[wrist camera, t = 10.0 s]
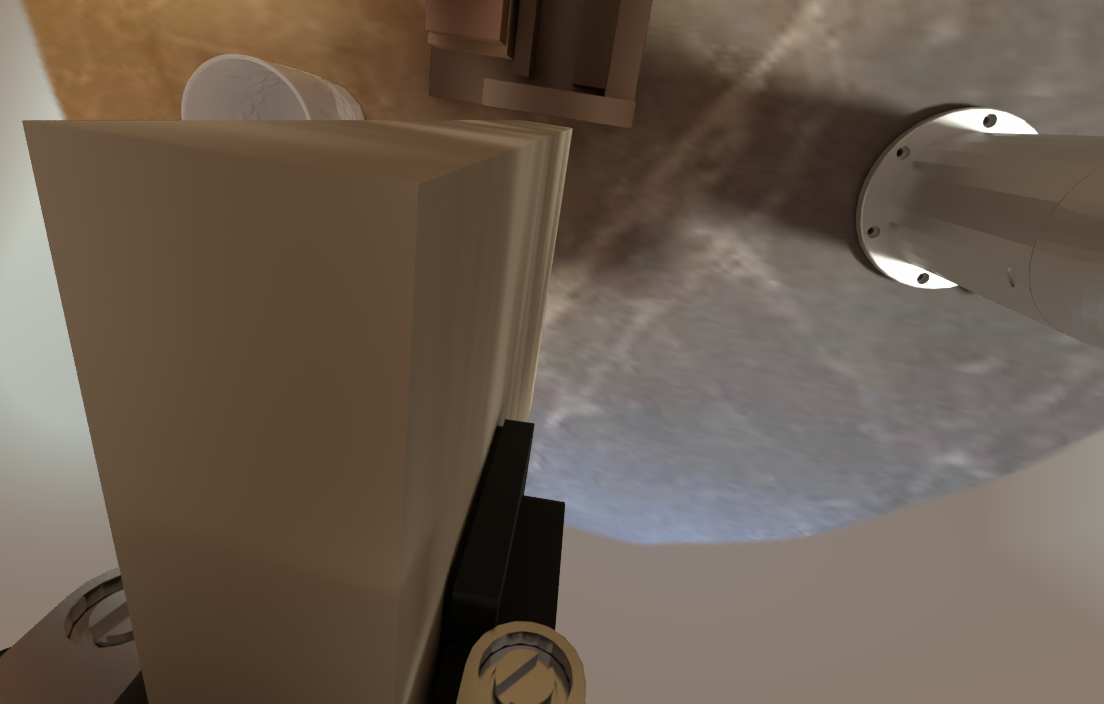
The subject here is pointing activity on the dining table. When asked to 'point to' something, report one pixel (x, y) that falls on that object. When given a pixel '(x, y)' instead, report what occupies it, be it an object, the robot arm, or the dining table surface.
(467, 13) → the offcut bundle
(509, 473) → the robot arm
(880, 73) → the dining table surface
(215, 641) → the birch sheet
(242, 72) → the white cup
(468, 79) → the walnut rack
